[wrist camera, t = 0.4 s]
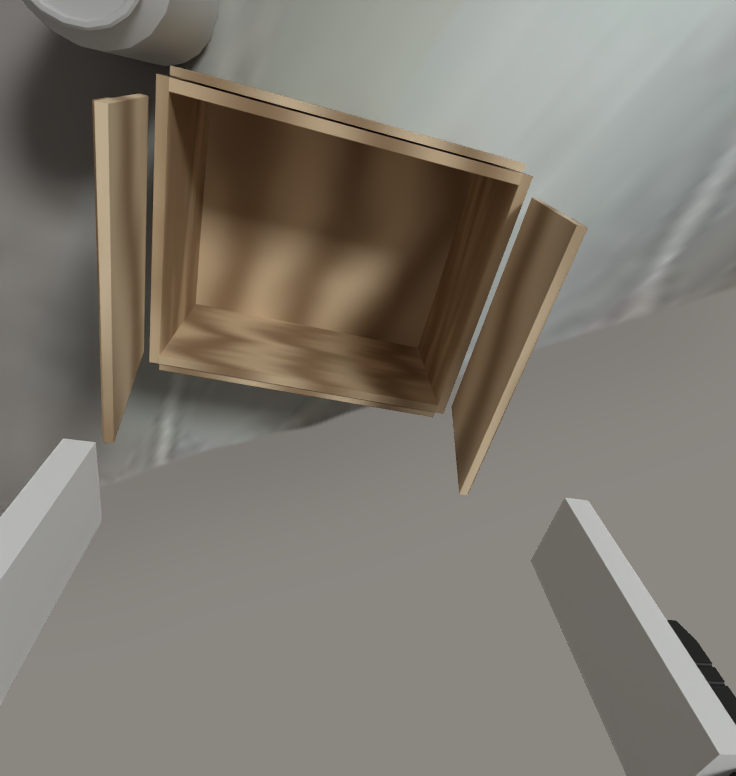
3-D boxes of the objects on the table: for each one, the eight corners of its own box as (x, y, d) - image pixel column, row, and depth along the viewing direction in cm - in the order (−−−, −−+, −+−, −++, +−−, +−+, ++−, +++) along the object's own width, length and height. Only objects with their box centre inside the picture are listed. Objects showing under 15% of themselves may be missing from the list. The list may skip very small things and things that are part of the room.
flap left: (143, 351, 30) (134, 350, 30) (148, 95, 23) (137, 93, 23) (113, 443, 22) (101, 442, 22) (107, 104, 16) (90, 99, 16)
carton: (189, 313, 40) (149, 370, 31) (204, 73, 32) (156, 61, 23) (419, 358, 43) (440, 420, 35) (486, 152, 35) (536, 166, 27)
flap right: (459, 493, 25) (468, 496, 25) (576, 225, 19) (589, 228, 19) (451, 406, 34) (458, 408, 34) (532, 197, 27) (540, 200, 27)
